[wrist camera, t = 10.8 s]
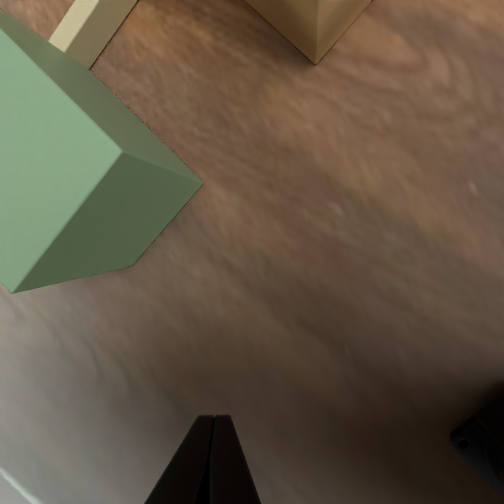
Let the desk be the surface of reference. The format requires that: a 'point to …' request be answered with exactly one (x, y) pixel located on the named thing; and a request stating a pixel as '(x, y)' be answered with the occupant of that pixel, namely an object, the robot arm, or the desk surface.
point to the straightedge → (89, 28)
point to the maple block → (310, 21)
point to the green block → (74, 169)
